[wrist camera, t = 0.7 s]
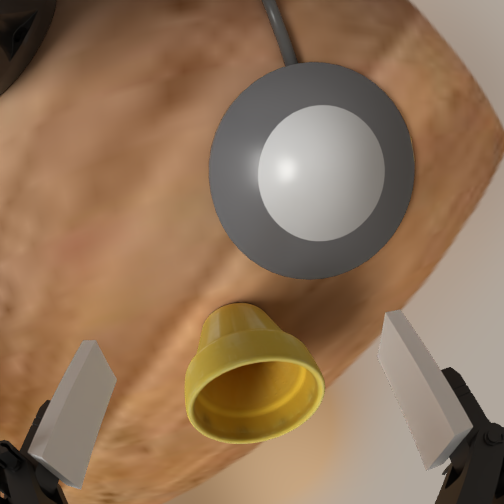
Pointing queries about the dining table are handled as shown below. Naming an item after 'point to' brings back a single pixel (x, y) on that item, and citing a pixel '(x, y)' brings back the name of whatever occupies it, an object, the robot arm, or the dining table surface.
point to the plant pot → (250, 378)
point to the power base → (310, 167)
